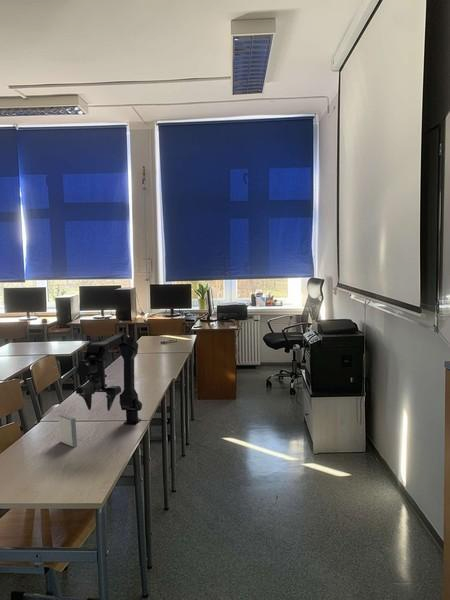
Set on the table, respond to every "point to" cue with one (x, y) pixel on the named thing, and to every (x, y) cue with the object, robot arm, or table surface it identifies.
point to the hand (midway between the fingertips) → (99, 410)
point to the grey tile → (67, 430)
